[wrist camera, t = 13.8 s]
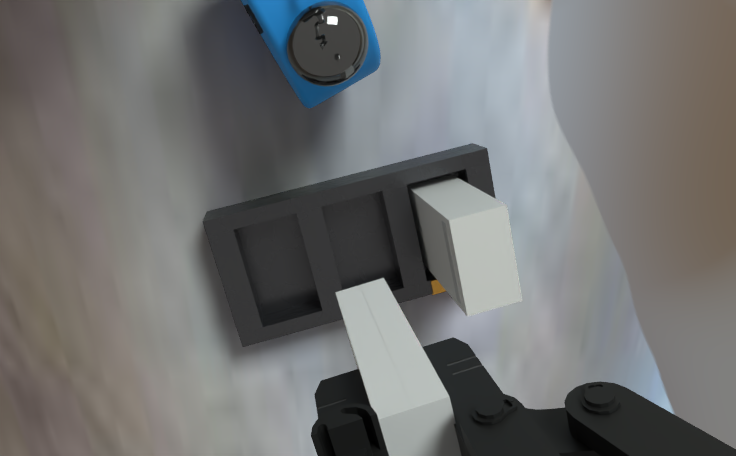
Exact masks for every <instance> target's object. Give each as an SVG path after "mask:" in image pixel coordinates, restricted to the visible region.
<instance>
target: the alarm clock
mask: <svg viewBox="0 0 736 456" xmlns="http://www.w3.org/2000/svg"><path fill="white" fill-rule="evenodd" d="M241 1H242V3H243V5H244V7H245V9H246V11H247V13H248V14H249V16H250V17H251V19H252V21H253V23H254V24H255V26H256V28H257V30H258V32H259V33H260V35H261V36H262V38H263V40H264V41H265V43H266V45H267V47H268V48H269V50H270V52H271V53H272V55H273V57H274V59H275V60H276V62H277V64H278V65H279V67H280V69H281V70H282V72H283V74H284V75H285V77H286V79H287V80H288V82H289V84H290V85H291V87H292V88H293V90H294V92H295V93H296V95H297V96H298V98H299V99H300V101H301V102H302V104H303V105H304V106H305V107H307V108H312V107H315V106H316V105H318V104H320V103H321V102H323V101H325V100H327V99H328V98H330V97H332V96H333V95H335V94H337V93H339V92H340V91H342V90H344V89H346V88H347V87H349V86H351V85H352V84H354V83H356V82H358V81H359V80H361V79H363V78H364V77H366V76H368V75H370V74H371V73H373V72H375V71H376V70H377V69H378V67H379V65H380V49H379V44H378V40H377V37H376V33H375V30H374V27H373V24H372V22H371V19H370V16H369V14H368V11H367V9H366V6H365V4H364V1H363V0H241Z"/></svg>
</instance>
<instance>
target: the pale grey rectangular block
mask: <svg viewBox="0 0 736 456" xmlns="http://www.w3.org/2000/svg"><path fill="white" fill-rule="evenodd" d="M407 189H408V194H409V199H410V203H411V208H412V213H413V218H414V222H415V227H416V232H417V237H418V241H419V246H420V251H421V255H422V260H423V263H424V265H425V266H426V267H427V268H428V269H429V271H430V272H431V273H432V274H433V275H434V277H435V278H436V279H437V280H438V282H439V283H440V284H441V285H442V286H443V288H444V289H445V290H446V291H447V292H448V294H449V295H450V296H451V297H452V298H453V300H454V301H455V302H456V303H457V305H458V306H459V307H460V308H461V309H462V311H463V312H464V313H465V314H466V315H467V317H468V316H471V315H475V314H478V313H482V312H485V311H489V310H492V309H496V308H499V307H503V306H506V305H510V304H513V303H517V302H520V301H522V295H521V289H520V283H519V277H518V271H517V265H516V259H515V252H514V246H513V240H512V234H511V228H510V222H509V215H508V209H507V205H506V204H504V203H502V202H501V201H499V200H497V199H495V198H493V197H492V196H490V195H488V194H486V193H484V192H483V191H481V190H479V189H477V188H475V187H473V186H472V185H470V184H468V183H466V182H464V181H463V180H461V179H459V178H457V177H455V176H454V175H449V176H445V177H441V178H437V179H433V180H430V181H426V182H422V183H418V184H414V185H410V186H407Z"/></svg>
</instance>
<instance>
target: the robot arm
mask: <svg viewBox="0 0 736 456" xmlns="http://www.w3.org/2000/svg"><path fill="white" fill-rule="evenodd" d="M335 293H336V296H337V300H338V303H339V307H340V310H341V313H342V317H343V320H344V324H345V327H346V331H347V334H348V337H349V341H350V344H351V348H352V351H353V355H354V358H355V361H356V365H357V368H358V369H357V370H354V371H350V372H347V373H344V374H341V375H338V376H335V377H332V378H328V379H325V380H322V381H321V382H320V384H319V386H318V388H317V390H316V393H315V400H316V407H317V413H318V420H317V421H316V422H315V424H314V425H313V427H312V432H311V437H312V440H313V443H314V446H315V449H316V452H317V455H318V456H736V449H734V448H732V447H731V446H729V445H727V444H725V443H723V442H722V441H720V440H718V439H716V438H715V437H713V436H711V435H709V434H707V433H706V432H704V431H702V430H700V429H699V428H697V427H695V426H693V425H691V424H690V423H688V422H686V421H684V420H682V419H681V418H679V417H677V416H675V415H674V414H672V413H670V412H668V411H667V410H665V409H663V408H661V407H659V406H658V405H656V404H654V403H652V402H651V401H649V400H647V399H645V398H643V397H642V396H640V395H638V394H636V393H635V392H633V391H631V390H629V389H627V388H625V387H623V386H620V385H618V384H615V383H608V382H593V383H586V384H584V385H581V386H578V387H576V388H575V389H573V390H572V391H571V392H569V393H568V395H567V397H566V399H565V407H566V408H557V409H546V410H535V409H527V408H525V407H524V406H523V405H522V403H520V402H519V401H518V400H517V399H515V398H514V397H511V396H508V395H505V394H503V393H502V391H501V390H500V389H499V387H498V386H497V384H496V383H495V382H494V380H493V379H492V377H491V376H490V375H489V373H488V372H487V370H486V369H485V368H484V366H482V364H481V362H480V361H479V359H478V358H477V357H476V356H475V354H474V352H473V351H472V350H471V348H470V347H469V345H468V344H466V343H464V342H462V341H460V340H458V339H456V338H454V337H453V338H450V339H447V340H444V341H440V342H437V343H434V344H431V345H428V346H425V347H422V346H421V344H420V342H419V341H418V339H417V337H416V335H415V333H414V332H413V330H412V328H411V326H410V324H409V323H408V321H407V319H406V317H405V315H404V314H403V312H402V310H401V308H400V306H399V305H398V303H397V301H396V299H395V297H394V296H393V294H392V292H391V290H390V288H389V287H388V285H387V283H386V281H385V279H384V278H381V279H378V280H375V281H371V282H368V283H365V284H361V285H358V286H355V287H351V288H348V289H345V290H342V291H338V292H335Z"/></svg>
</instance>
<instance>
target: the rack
mask: <svg viewBox="0 0 736 456" xmlns="http://www.w3.org/2000/svg"><path fill="white" fill-rule="evenodd" d="M449 175H454V176H455V177H457V178H459V179H461V180H463V181H464V182H466V183H468V184H470V185H472V186H473V187H475V188H477V189H479V190H481V191H483V192H484V193H486V194H488V195H490V196H492V197H493V198H495V193H494V187H493V181H492V175H491V169H490V163H489V157H488V151H487V148H485V147H482V146H479V145H476V144H469V145H465V146H461V147H457V148H453V149H449V150H445V151H441V152H437V153H434V154H430V155H426V156H422V157H418V158H414V159H410V160H406V161H402V162H398V163H395V164H391V165H387V166H383V167H379V168H375V169H371V170H367V171H363V172H359V173H356V174H352V175H348V176H344V177H340V178H336V179H332V180H328V181H324V182H321V183H317V184H313V185H309V186H305V187H301V188H297V189H293V190H289V191H285V192H282V193H278V194H274V195H270V196H266V197H262V198H258V199H254V200H250V201H246V202H243V203H239V204H235V205H231V206H227V207H223V208H219V209H215V210H211V211H208V212H207V213H206V215H205V218H204V220H203V224H204V227H205V230H206V233H207V236H208V239H209V243H210V246H211V249H212V252H213V255H214V258H215V261H216V265H217V268H218V271H219V274H220V277H221V280H222V283H223V286H224V290H225V293H226V296H227V299H228V302H229V305H230V308H231V312H232V315H233V318H234V321H235V324H236V327H237V330H238V334H239V337H240V340H241V343H242V346H243V347H245V346H248V345H252V344H255V343H259V342H263V341H266V340H270V339H273V338H277V337H280V336H284V335H287V334H291V333H295V332H298V331H302V330H305V329H309V328H312V327H316V326H319V325H323V324H327V323H330V322H334V321H337V320H341V319H343V317H342V313H341V310H340V307H339V303H338V300H337V296H336V293H335V292H338V291H342V290H345V289H348V288H351V287H355V286H358V285H361V284H365V283H368V282H371V281H375V280H378V279H381V278H384V279H385V281H386V283H387V285H388V287H389V288H390V290H391V292H392V294H393V296H394V297H395V299H396V301H397V303H401V302H405V301H408V300H412V299H416V298H419V297H423V296H426V295H430V294H432V295H435V294H438V293H442V292H445V291H446V290H445V289H444V288H443V286H442V285H441V284H440V283H439V282H438V280H437V279H436V278H435V277H434V275H433V274H432V273H431V272H430V271H429V269H428V268H427V267H426V266H425V265H424V263H423V260H422V255H421V251H420V246H419V241H418V237H417V232H416V227H415V222H414V218H413V213H412V208H411V203H410V199H409V194H408V189H407V186H410V185H414V184H418V183H422V182H426V181H430V180H433V179H437V178H441V177H445V176H449Z"/></svg>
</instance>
